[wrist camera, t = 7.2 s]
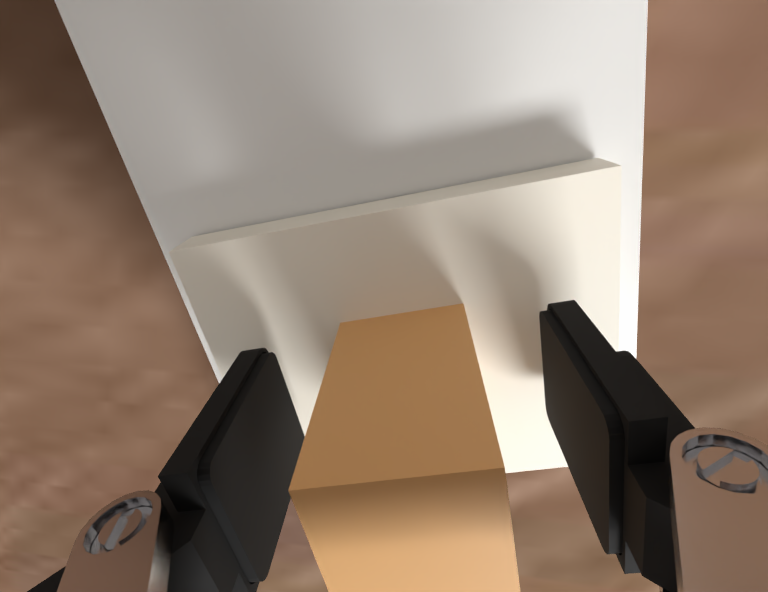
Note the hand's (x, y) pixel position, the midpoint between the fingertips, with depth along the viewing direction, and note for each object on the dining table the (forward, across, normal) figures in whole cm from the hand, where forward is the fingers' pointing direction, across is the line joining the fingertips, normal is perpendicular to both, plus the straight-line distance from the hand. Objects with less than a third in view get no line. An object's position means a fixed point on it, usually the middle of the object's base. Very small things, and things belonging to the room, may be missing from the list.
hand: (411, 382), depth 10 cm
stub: (+2, 0, 0) cm, 2 cm away
